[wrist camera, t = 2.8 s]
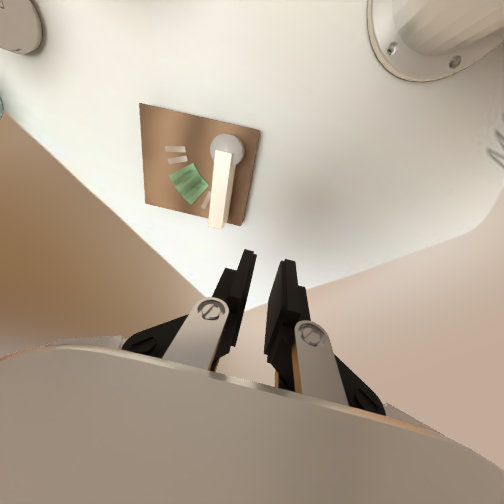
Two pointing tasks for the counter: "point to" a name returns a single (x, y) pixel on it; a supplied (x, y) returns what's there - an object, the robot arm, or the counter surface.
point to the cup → (1, 109)
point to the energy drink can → (19, 26)
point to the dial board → (190, 161)
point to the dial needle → (223, 176)
